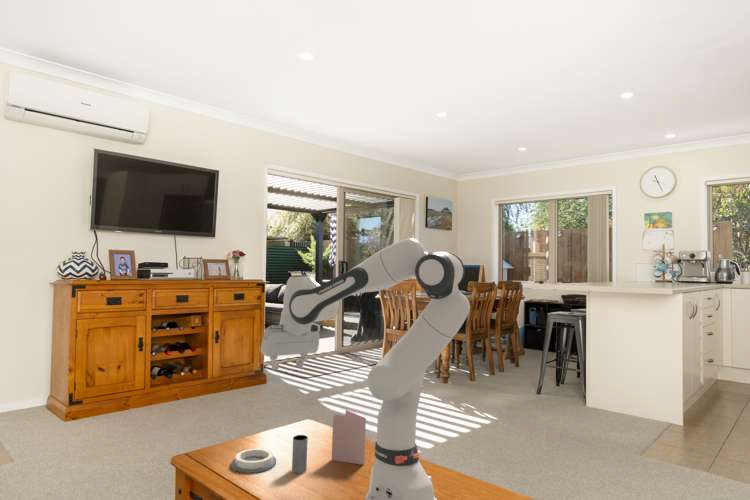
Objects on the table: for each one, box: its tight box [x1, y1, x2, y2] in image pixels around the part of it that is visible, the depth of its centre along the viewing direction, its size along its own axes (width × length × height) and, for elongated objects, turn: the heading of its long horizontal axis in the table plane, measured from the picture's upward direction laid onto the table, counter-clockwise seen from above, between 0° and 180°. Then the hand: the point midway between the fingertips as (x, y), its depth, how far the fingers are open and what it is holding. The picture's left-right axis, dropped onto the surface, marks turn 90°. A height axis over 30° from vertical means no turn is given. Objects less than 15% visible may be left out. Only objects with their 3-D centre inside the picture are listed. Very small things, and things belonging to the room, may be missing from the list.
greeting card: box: [331, 409, 367, 466], centre depth 160 cm, size 11×7×15 cm, turn 38°
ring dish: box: [231, 448, 277, 474], centre depth 155 cm, size 14×14×3 cm
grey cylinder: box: [291, 434, 309, 474], centre depth 151 cm, size 4×4×10 cm
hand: (287, 368), depth 152 cm, fingers open, 8 cm apart
